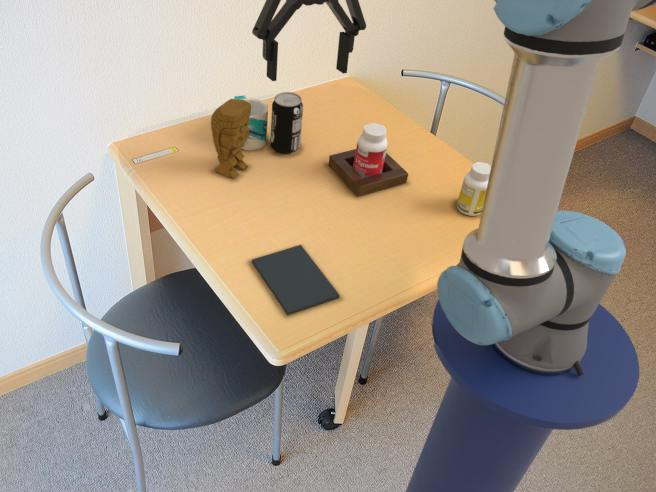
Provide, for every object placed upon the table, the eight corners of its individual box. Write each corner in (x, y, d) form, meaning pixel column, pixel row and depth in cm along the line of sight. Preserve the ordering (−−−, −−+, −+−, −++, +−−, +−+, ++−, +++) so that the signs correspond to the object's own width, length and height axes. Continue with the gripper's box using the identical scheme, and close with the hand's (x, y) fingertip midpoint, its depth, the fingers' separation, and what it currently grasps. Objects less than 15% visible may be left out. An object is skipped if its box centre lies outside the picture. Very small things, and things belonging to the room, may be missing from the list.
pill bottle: (348, 177, 138) (355, 132, 130) (357, 162, 142) (364, 118, 134) (376, 185, 136) (385, 140, 128) (384, 170, 140) (394, 125, 133)
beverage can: (267, 141, 147) (268, 92, 139) (295, 138, 148) (298, 89, 140) (274, 157, 142) (276, 108, 134) (303, 154, 143) (307, 104, 135)
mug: (235, 152, 143) (236, 118, 137) (222, 123, 151) (222, 90, 146) (271, 147, 145) (273, 113, 139) (256, 119, 153) (257, 86, 148)
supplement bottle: (483, 202, 133) (497, 162, 126) (482, 219, 129) (497, 178, 123) (456, 197, 134) (469, 157, 127) (455, 213, 130) (467, 173, 124)
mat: (339, 298, 112) (339, 295, 112) (287, 315, 109) (287, 312, 109) (300, 247, 121) (300, 244, 121) (251, 262, 118) (251, 259, 118)
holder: (406, 183, 137) (408, 173, 135) (357, 196, 133) (359, 187, 131) (375, 153, 145) (376, 143, 143) (328, 165, 141) (329, 155, 139)
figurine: (233, 181, 135) (234, 118, 125) (207, 171, 138) (206, 107, 127) (251, 165, 140) (253, 102, 129) (226, 155, 142) (226, 93, 132)
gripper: (373, -65, 110) (359, 61, 122) (234, -60, 102) (233, 74, 115) (397, -57, 104) (379, 74, 117) (251, -51, 97) (248, 89, 109)
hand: (307, 74), depth 116 cm, fingers open, 13 cm apart
